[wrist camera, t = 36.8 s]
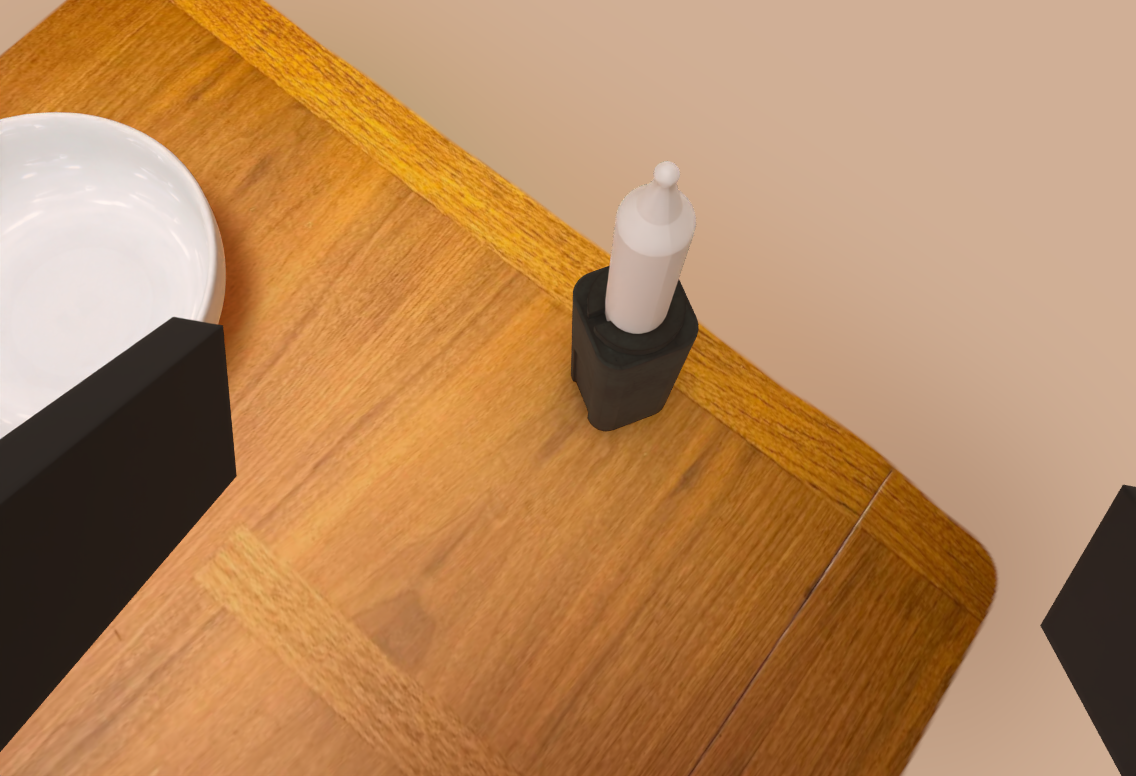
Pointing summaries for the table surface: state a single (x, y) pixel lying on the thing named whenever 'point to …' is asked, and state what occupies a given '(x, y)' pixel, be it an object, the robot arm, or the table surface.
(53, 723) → the table surface
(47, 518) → the robot arm
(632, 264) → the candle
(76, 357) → the serving bowl
